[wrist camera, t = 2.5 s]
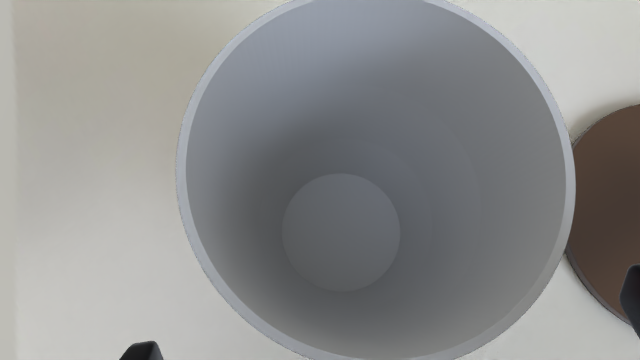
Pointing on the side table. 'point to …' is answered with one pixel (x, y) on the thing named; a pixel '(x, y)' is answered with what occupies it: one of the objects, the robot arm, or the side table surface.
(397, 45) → the cup
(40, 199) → the side table surface
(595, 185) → the coaster
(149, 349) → the robot arm
